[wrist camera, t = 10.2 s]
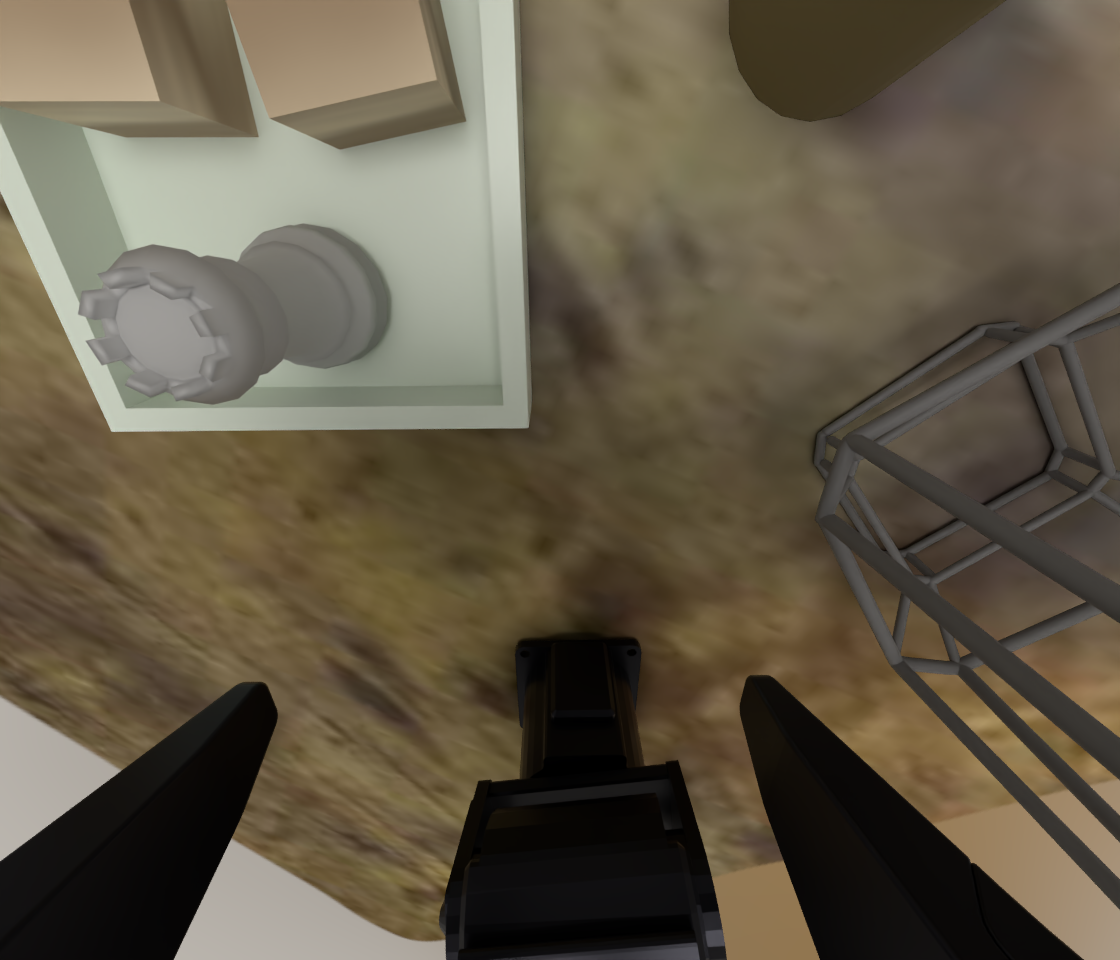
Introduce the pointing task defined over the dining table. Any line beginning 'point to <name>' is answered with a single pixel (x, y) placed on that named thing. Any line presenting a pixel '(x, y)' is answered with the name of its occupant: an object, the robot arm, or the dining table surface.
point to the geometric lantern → (1003, 533)
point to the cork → (839, 47)
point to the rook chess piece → (236, 312)
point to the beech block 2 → (351, 66)
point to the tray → (322, 200)
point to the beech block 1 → (126, 66)
